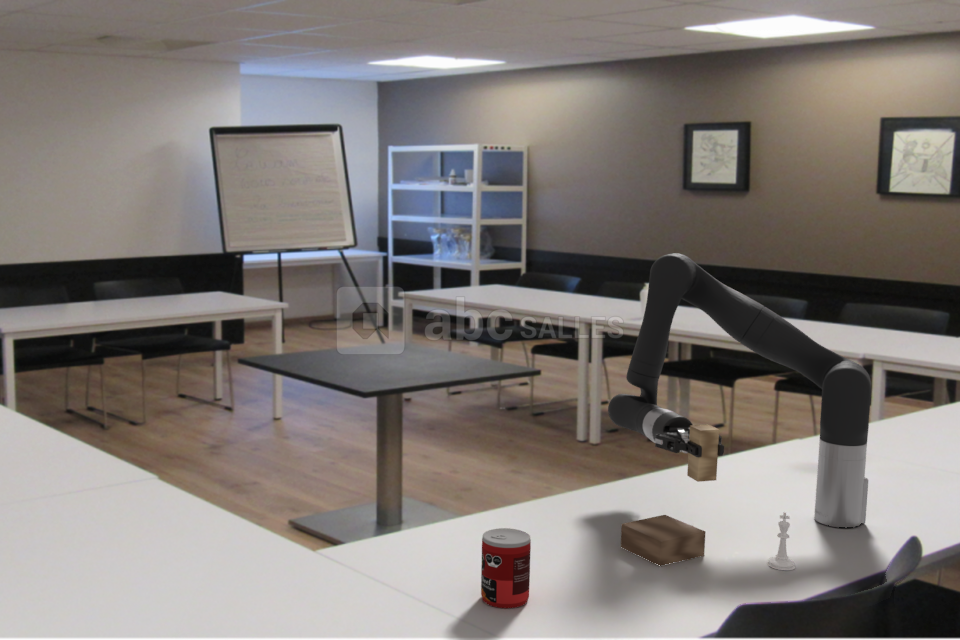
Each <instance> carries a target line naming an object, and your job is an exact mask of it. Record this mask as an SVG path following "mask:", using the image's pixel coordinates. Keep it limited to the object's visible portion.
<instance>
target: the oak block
mask: <svg viewBox="0 0 960 640" xmlns="http://www.w3.org/2000/svg"><path fill="white" fill-rule="evenodd" d="M719 435H720V429H719V428H717V427H715V426H713V425H711V424H708V423H707V424H693V425H690V435H689V440H690V442H694V443H696V444H698V445H700V446H701V447H702V456H701V457H695V456H694V455H692V454H690V453H687V473H686V474H687V477H689V478H691V479H692V480H693V481H696V482H709V481H711V482H712V481H717V478H718V477H717V476H718V475H717V474H718V461H719V460H718V459H719V458H718V457H719V456H718V455H717V453H718V442H719Z"/></svg>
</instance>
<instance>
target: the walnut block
mask: <svg viewBox="0 0 960 640" xmlns="http://www.w3.org/2000/svg"><path fill="white" fill-rule="evenodd" d="M620 531H621V533H620V534H621V535H620V548H621V547H622V548H621V549H623V548H624V549H623V550H625V549H626V550H625V551H627V550H628V551H627V552H629V551H630V552H629V553H631V552H632V554H633V553H634V554H633V555H635V554H636V555H635V556H637V555H639V556H641V557H643V558H645V559H644V560H646V559H647V560H646V561H648V560H649V561H648V562H650V561H651V562H650V563H652V562H653V563H652V564H654V563H656V564H658V565H660V566H661V565H665V564H669V563H673V562H677V563H680V562H679V561H681V562H683V561H682V560H685V561H688V560H687V559H689V560H692V559H691V558H693V559H696V558H695V557H697V558H700V556H701V557H705V548H706V531H705V530H703V529H700V528H698V527H696V526H693V525H691V524H688V523H686V522H684V521H681V520H679V519H676V518H674V517H672V516H669V515H667V514H663V515H657V516H653V517H647V518H643V519H637V520H634V521H629V522H624V523H621V530H620ZM639 556H638V557H639ZM641 557H640V558H641ZM643 558H642V559H643ZM656 564H655V565H656ZM673 564H674V563H673ZM658 565H657V566H658ZM669 565H670V564H669ZM660 566H659V567H660ZM665 566H666V565H665ZM661 567H662V566H661Z"/></svg>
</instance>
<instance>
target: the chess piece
mask: <svg viewBox="0 0 960 640" xmlns="http://www.w3.org/2000/svg"><path fill="white" fill-rule="evenodd" d="M779 519H782V520H780V521H778V528H779V531H780V532H779V533H777V537H778V538H780V540H779V545H778V550H777V553H776V555H775V556H772V557H770V558H768V560H767V565H768V566H769V568H773V569H775V570H779V571H792V570H795V569H796V562H795V560H793V559H791V558H790V557H789V555H788V554H787V553H788V552H787V539H790V534H789V533H788V532H789V528H790V527H791V523H790V522H789V521H787V520H790V515H787V512H785V511H784V512H783V515H782V514H781V515H779Z"/></svg>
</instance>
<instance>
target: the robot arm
mask: <svg viewBox="0 0 960 640" xmlns="http://www.w3.org/2000/svg"><path fill="white" fill-rule="evenodd" d="M649 270H650V271H649V278H648V279H649V280H648V288H647V289H648V290H647V295H646V296H647V297H646V303H645V309H644V313H643V318H642V321H641V325H640V329H639V333H638V335H637V339H636V342H635V345H634V348H633V352H632V355H631V358H630V362H629V364H628V368H627V372H626V376H625V377H626V381H627V382H628V383H629V384H631V385H632V386H634V387H636V388H639V389H640V395H633V394H629V393H628V394H627V393H618V394H616V395H614V396H613V397H612V398H611V399H610V401H609V403H608V406H607V412H608V416H609V419H610V421H612V423H613V424H614V425H616V426H618V427H621V428H624V429H628V430H629V431H633V432H637V433H638V434H641V435H642V436H644V437H646V438H647V439H649V440H650V441H651V442H653V443H654V444H655V446H654V447H656V448H659V449H662V450H665V451H668V452H671V453H675V454H678V453H679V454H680V453H683V454H689V453H690V454H692V455H694V456H695V457H701V456H702V447H701V446H700V445H698V444H696V443H694V442H690V440H689V435H690V425H694V424H693V423H692V421H691V420H690V419H688V417H685V416H683V415H681V414H679V413H677V412H675V411H673V410H670V409H667V408H663V407H661V406H659V405H658V390H659V389H658V387H659V380H660V378H661V377H660V376H661V374H662V370H663V367H664V363H665V361H666V355H667V351H668V345H669V340H670V332H671V327H672V323H673V320H674V317H675V314H676V311H677V310H678V306H679V304H680V303H681V301H682V300H683V301H685V302H687V303H688V304H690V305H692V306H694V307H696V308H698V309H699V310H701V311H702V312H704V313H705V314H706V315H707V316H708V317H709V318H711V319H712V320H713V321H714V323H716V324H717V325H718V326H719V327H720V328H721V329H722V330H723V331H724V332H725V333H726V334H728V335H729V336H730V337H731V338H733V340H735V341H737V342H738V343H740V344H741V345H743V346H744V347H746V348H747V349H749V350H750V351H752V352H753V353H755V354H757V355H759V356H761V357H763V358H764V359H767V360H770V361H771V362H774V363H776V364H779V365H782V366H785V367H786V368H789V369H791V370H794V371H796V372H798V373H799V374H801V375H802V376H804V377H805V378H807V379H808V380H810V381H811V382H813V384H815V385H816V386H817V387H818V388H819V389H821V390H822V391H821V406H820V421H819V422H820V423H819V443H818V445H819V446H818V458H817V459H818V460H817V470H816V471H817V473H816V474H817V475H816V484H815V485H816V489H815V491H816V492H815V499H814V501H815V503H814V515H813V516H814V517H813V518H814V520H815V521H816V522H818V523H819V524H822V525H825V526H828V525H829V526H828V527H834V528H839V527H845V528H844V529H848V528H847V527H853V528H856V527H855V526H858V525H860V524H861V523H864V524H866V519H867V518H866V517H867V505H868V492H869V479H868V478H867V477H866V462H867V447H868V436H869V427H870V426H869V425H870V414H871V413H870V411H871V410H870V409H871V401H872V399H871V398H872V381H871V380H872V379H871V376H870V374H869V373H868V371H867V369H865V367H863V366H862V365H860V364H859V363H857V362H854V361H852V360H851V359H849V358H847V357H845V356H842V355H841V354H839V353H836V352H835V351H832V350H831V349H829V348H826V347H825V346H824V345H821V344H819V343H818V342H816V341H815V340H813V338H811V337H809V336H808V335H807V334H806V333H805V332H804V331H802V330H800V329H799V328H798V327H796V326H795V325H794V324H792V323H791V322H789V321H788V320H786V319H785V318H784V317H782V316H781V315H779V314H777V312H774V311H773V310H771V309H769V308H768V307H766V306H765V305H763V304H761V303H760V302H758V301H756V300H754V299H753V298H751V297H749V296H748V295H745V294H743V293H741V291H737V290H735V288H734V289H733V288H732V287H730V286H728V285H726V284H724V282H723V283H722V282H721V281H719V280H718V279H716V278H715V277H714V276H713V275H711V274H710V273H709V272H707V271H706V270H704V268H702V267H701V266H700V265H698V264H697V263H696V262H695V261H694V260H693V259H691V258H690V257H689V256H687V255H685V254H682V253H678V252H674V253H668V254H664V255H661V256H660V257H658V258H657V259H656V260H655V261H654V262H653V264H652V265H651V267H650V269H649ZM722 440H723V438H722V436H721V435H720V434H719V442H718V453H717V455H718V457H722V456H723V455H724V453H725V445H724V444H722ZM861 525H862V524H861ZM861 525H860V526H861ZM858 527H859V526H858Z"/></svg>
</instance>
